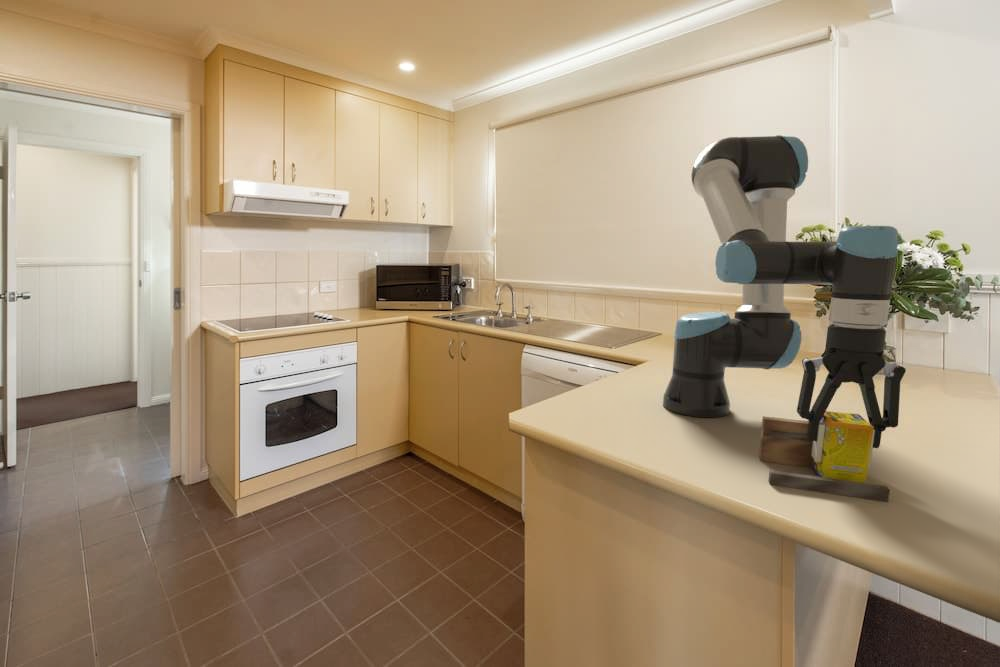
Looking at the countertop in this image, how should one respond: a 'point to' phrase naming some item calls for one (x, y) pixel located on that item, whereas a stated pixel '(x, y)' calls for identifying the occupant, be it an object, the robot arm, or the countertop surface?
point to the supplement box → (845, 447)
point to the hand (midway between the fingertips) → (839, 461)
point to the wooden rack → (805, 461)
